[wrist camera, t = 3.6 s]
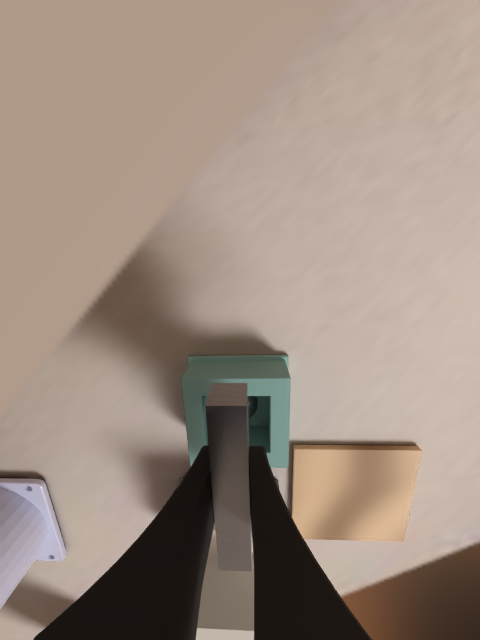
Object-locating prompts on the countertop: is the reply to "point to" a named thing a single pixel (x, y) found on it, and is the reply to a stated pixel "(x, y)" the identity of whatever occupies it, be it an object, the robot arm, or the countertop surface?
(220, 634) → the cover
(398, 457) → the cork mat
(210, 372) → the key socket
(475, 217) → the countertop surface
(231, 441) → the t key
